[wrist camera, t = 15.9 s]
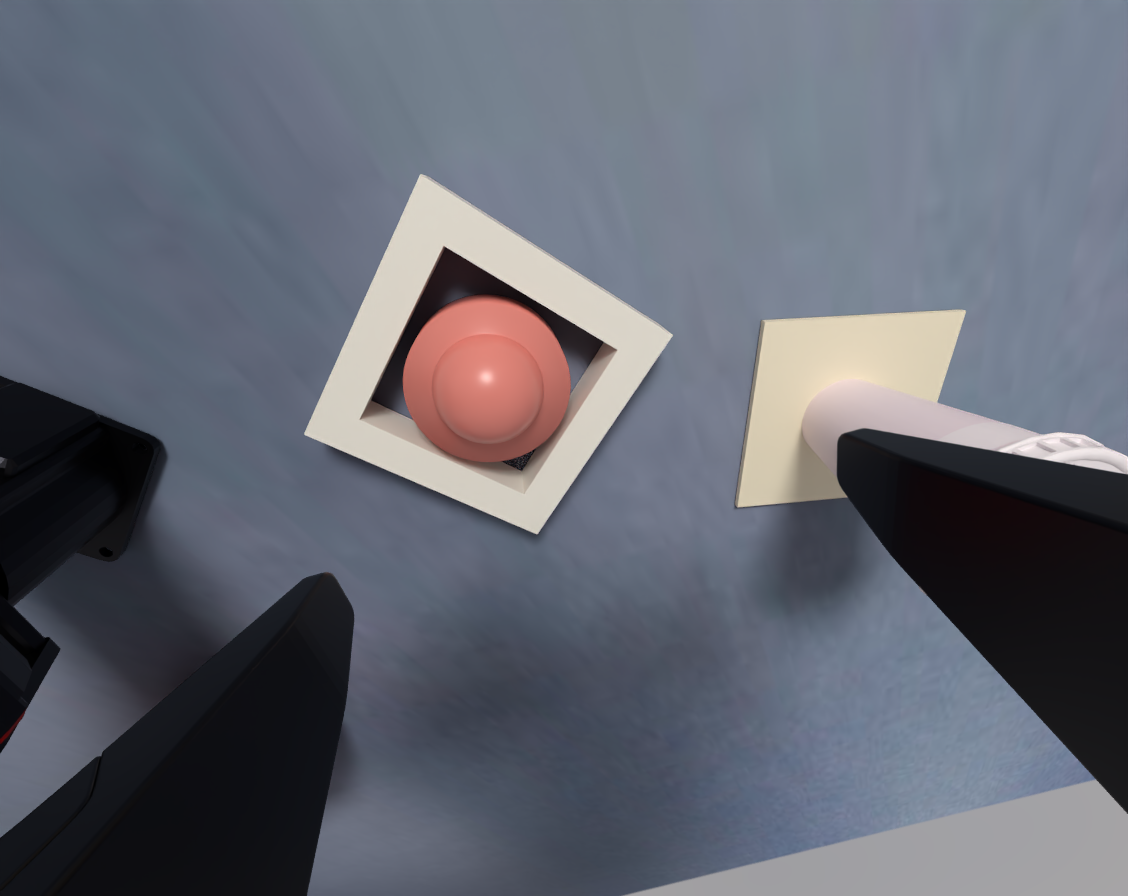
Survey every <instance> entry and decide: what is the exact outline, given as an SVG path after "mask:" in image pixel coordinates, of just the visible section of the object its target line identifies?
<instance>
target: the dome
mask: <svg viewBox="0 0 1128 896" xmlns="http://www.w3.org/2000/svg"><path fill="white" fill-rule="evenodd" d="M570 389H571V385H570V373H569V367H568V364H567V361H566V358H565V355H564V353H563V351H562V349H561V346H560V344H559V342H558V340H557V338H556V336H555V334H554V332H553V331H552V329H551V327H550V326H549V325H548V324H547V322H546V321H545V320H544V319H543V318H542V317H541V316H540V315H539V314H538V313H537V312H535V311H534V310H533V309H531V308H530V307H528V306H527V305H525V304H523V303H521V302H519V301H517V300H514V299H511V298H508V297H504V296H500V295H491V294H480V295H472V296H467V297H463V298H460V299H457V300H455V301H453V302H451V303H449V304H447V305H445V306H444V307H442V308H441V309H439V310H438V311H437V312H435V313H434V314H433V315H432V316H431V317H430V318H429V319H428V321H427V322H426V323H425V324H424V326H423V327H422V329H421V331H420V332H419V334H418V336H417V338H416V339H415V341H414V343H413V345H412V347H411V349H410V351H409V354H408V356H407V359H406V363H405V367H404V373H403V391H404V396H405V401H406V404H407V407H408V410H409V412H410V414H411V416H412V418H413V420H414V422H415V423H416V425H417V426H418V428H419V429H420V430H421V431H422V432H423V434H424V435H425V436H426V437H427V438H428V439H429V440H431V441H432V442H433V443H434V444H435V445H437V446H438V447H440V448H441V449H443V450H445V451H446V452H448V453H450V454H452V455H455V456H457V457H460V458H463V459H467V460H471V461H478V462H499V461H505V460H510V459H514V458H517V457H520V456H522V455H524V454H526V453H529V452H531V451H532V450H534V449H535V448H537V447H539V446H540V445H541V444H542V443H543V442H545V441H546V440H547V439H548V438H549V437H550V436H551V435H552V434H553V432H554V431H555V430H556V428H557V427H558V426H559V424H560V422H561V420H562V419H563V417H564V414H565V412H566V409H567V406H568V402H569V398H570Z"/></svg>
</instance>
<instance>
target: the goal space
mask: <svg viewBox="0 0 1128 896" xmlns="http://www.w3.org/2000/svg"><path fill="white" fill-rule="evenodd" d="M965 313H966V311H964V310H944V311H925V312H907V313H888V314H869V315H851V316H832V317H814V318H795V319H777V320H762V321H761V328H760V335H759V342H758V349H757V355H756V362H755V369H754V376H753V383H752V390H751V397H750V404H749V410H748V417H747V424H746V431H745V438H744V445H743V452H742V458H741V465H740V472H739V479H738V486H737V493H736V500H735V505H736V506H737V507H747V506H758V505H769V504H780V503H791V502H802V501H813V500H824V499H835V498H846V497H847V496H846V494H845V493H844V492H843V490H842V489H841V487H840V485H839V483H838V480H837V477H836V476H835V475H834V474H833V473H832V472H831V471H830V469H829V468H828V467H827V466H826V465H825V464H824V462H823V461H822V460H821V459H820V458H819V457H818V455H817V454H816V453H815V452H814V451H813V450H812V449H811V447H810V446H809V445H808V444H807V443H806V441H805V439H804V437H803V433H802V420H803V416H804V413H805V411H806V409H807V407H808V405H809V404H810V402H811V401H812V399H813V398H814V397H815V396H816V395H817V394H818V393H819V392H820V391H821V390H823V389H824V388H826V387H827V386H829V385H831V384H833V383H835V382H837V381H840V380H844V379H860V380H863V381H867V382H870V383H873V384H877V385H880V386H883V387H886V388H890V389H893V390H896V391H900V392H903V393H906V394H910V395H913V396H916V397H919V398H923V399H926V400H929V401H933V402H936V403H937V401H938V398H939V395H940V391H941V388H942V385H943V382H944V379H945V376H946V373H947V369H948V366H949V363H950V360H951V357H952V354H953V351H954V348H955V344H956V341H957V338H958V335H959V332H960V329H961V326H962V322H963V319H964V316H965Z"/></svg>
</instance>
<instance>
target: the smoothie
mask: <svg viewBox="0 0 1128 896" xmlns="http://www.w3.org/2000/svg"><path fill="white" fill-rule="evenodd" d="M861 428H868V429H874V430H880V431H885V432H891V433H897V434H902V435H908V436H914V437H919V438H925V439H931V440H936V441H942V442H948V443H953V444H959V445H965V446H970V447H976V448H982V449H987V450H993V451H999V452H1004V453H1010V454H1016V455H1021V456H1027V457H1033V458H1038V459H1044V460H1050V461H1055V462H1061V463H1067V464H1072V465H1078V466H1083V467H1089V468H1095V469H1100V470H1106V471H1112V472H1117V473H1123V474H1128V457H1127V456H1125V455H1123V454H1121V453H1119V452H1116V451H1114V450H1111V449H1109V448H1106V447H1104V446H1103V444H1101V443H1099V442H1097V441H1095V440H1093V439H1091V438H1088V437H1086V436H1084V435H1080V434H1070V433H1060V432H1056V433H1050V434H1044V435H1041V434H1038V433H1035V432H1032V431H1029V430H1026V429H1023V428H1020V427H1016V426H1013V425H1010V424H1006V423H1002V422H999V421H995V420H992V419H989V418H986V417H982V416H979V415H976V414H972V413H969V412H966V411H962V410H959V409H956V408H952V407H949V406H946V405H943V404H939V403H936V402H933V401H929V400H926V399H923V398H919V397H916V396H913V395H910V394H906V393H903V392H900V391H896V390H893V389H890V388H886V387H883V386H880V385H877V384H873V383H870V382H867V381H863V380H860V379H844V380H840V381H837V382H835V383H833V384H831V385H829V386H827V387H826V388H824V389H823V390H821V391H820V392H819V393H818V394H817V395H816V396H815V397H814V398H813V399H812V401H811V402H810V404H809V405H808V407H807V409H806V411H805V413H804V416H803V420H802V433H803V437H804V439H805V441H806V443H807V444H808V445H809V446H810V447H811V449H812V450H813V451H814V452H815V453H816V454H817V455H818V457H819V458H820V459H821V460H822V461H823V462H824V464H825V465H826V466H827V467H828V468H829V469H830V471H831V472H832V473H833V474H834V475H835V476H836V477H837V441H838V438H839V436H840V435H841V434H843V433H846V432H850V431H853V430H857V429H861ZM919 588H920V587H919ZM920 590H921V591H922V592H923V593H924V594H926V593H925V592H924V591H923V590H922V589H921V588H920Z"/></svg>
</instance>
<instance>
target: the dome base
mask: <svg viewBox="0 0 1128 896" xmlns="http://www.w3.org/2000/svg"><path fill="white" fill-rule="evenodd" d="M445 247H447V248H448V249H450V250H452V251H453V252H455V253H457V254H458V255H460V256H462V257H463V258H465V259H467V260H468V261H470V262H472V263H473V264H475V265H477V266H478V267H480V268H482V269H483V270H485V271H487V272H488V273H490V274H492V275H493V276H495V277H497V278H498V279H500V280H502V281H503V282H505V283H507V284H508V285H510V286H512V287H513V288H515V289H517V290H518V291H520V292H522V293H523V294H525V295H527V296H528V297H530V298H532V299H533V300H535V301H537V302H538V303H540V304H542V305H543V306H545V307H547V308H548V309H550V310H552V311H553V312H555V313H557V314H558V315H560V316H562V317H563V318H565V319H567V320H568V321H570V322H572V323H573V324H575V325H577V326H578V327H580V328H582V329H583V330H585V331H587V332H588V333H590V334H592V335H593V336H595V337H597V338H598V339H600V340H602V341H603V342H604V343H603V344H602V346H601V347H600V349H599V350H598V352H597V354H596V355H595V357H594V358H593V360H592V361H591V363H590V365H589V366H588V368H587V369H586V371H585V373H584V374H583V376H582V377H581V379H580V380H579V382H578V384H577V385H576V387H575V388H574V390H573V391H572V393H571V395H570V398H569V402H568V406H567V409H566V412H565V414H564V417H563V419H562V420H561V422H560V424H559V426H558V427H557V428H556V430H555V431H554V432H553V434H552V435H551V436H550V437H549V438H548V439H547V440H546V441H545V442H543V443H542V444H541V445H540V446H539V447H537V448H536V450H535V451H534V453H533V454H532V456H531V458H530V459H529V461H528V462H527V464H526V465H525V467H524V469H523V470H522V471H520V470H518V469H516V468H514V467H512V466H510V465H508V464H505V463H503V462H501V461H499V462H478V461H471V460H467V459H463V458H460V457H457V456H455V455H452V454H450V453H448V452H446V451H445V450H443V449H441V448H440V447H438V446H437V445H435V444H434V443H433V442H432V441H431V440H429V439H428V438H427V437H426V436H425V435H424V434H423V432H422V431H421V430H420V429H419V428H418V426H417V425H416V423H415V422H414V420H412V419H410V418H407V417H405V416H403V415H401V414H399V413H397V412H395V411H393V410H390V409H388V408H386V407H384V406H382V405H380V404H378V403H375V402H373V401H371V399H372V397H373V395H374V393H375V391H376V389H377V387H378V385H379V383H380V381H381V379H382V377H383V374H384V372H385V370H386V368H387V366H388V364H389V362H390V360H391V358H392V356H393V354H394V352H395V350H396V348H397V346H398V344H399V342H400V340H401V337H402V335H403V333H404V331H405V329H406V327H407V325H408V323H409V321H410V319H411V317H412V315H413V313H414V311H415V309H416V307H417V305H418V303H419V300H420V298H421V296H422V294H423V292H424V290H425V288H426V286H427V284H428V282H429V280H430V278H431V276H432V274H433V272H434V270H435V268H436V266H437V264H438V261H439V259H440V257H441V255H442V253H443V251H444V249H445ZM672 336H673V335H672V334H671V333H670V332H668V331H667V330H666V329H664V328H663V327H662V326H661V325H659V324H658V323H657V322H655V321H653V320H652V319H650V318H649V317H647V316H646V315H644V314H642V313H641V312H639V311H638V310H636V309H635V308H633V307H632V306H630V305H628V304H627V303H625V302H624V301H622V300H621V299H619V298H617V297H616V296H614V295H613V294H611V293H610V292H608V291H606V290H605V289H603V288H602V287H600V286H599V285H597V284H596V283H594V282H592V281H591V280H589V279H588V278H586V277H585V276H583V275H581V274H580V273H578V272H577V271H575V270H574V269H572V268H571V267H569V266H567V265H566V264H564V263H563V262H561V261H560V260H558V259H556V258H555V257H553V256H552V255H550V254H549V253H547V252H546V251H544V250H542V249H541V248H539V247H538V246H536V245H535V244H533V243H531V242H530V241H528V240H527V239H525V238H524V237H522V236H521V235H519V234H517V233H516V232H514V231H513V230H511V229H510V228H508V227H506V226H505V225H503V224H502V223H500V222H499V221H497V220H496V219H494V218H492V217H491V216H489V215H488V214H486V213H485V212H483V211H481V210H480V209H478V208H477V207H475V206H474V205H472V204H470V203H469V202H467V201H466V200H464V199H463V198H461V197H460V196H458V195H456V194H455V193H453V192H452V191H450V190H449V189H447V188H445V187H444V186H442V185H441V184H439V183H438V182H436V181H435V180H433V179H431V178H430V177H428V176H425V175H422V174H420V176H419V178H418V181H417V183H416V185H415V187H414V190H413V192H412V194H411V196H410V199H409V201H408V203H407V205H406V207H405V210H404V212H403V214H402V216H401V219H400V221H399V223H398V225H397V228H396V230H395V232H394V234H393V237H392V239H391V241H390V243H389V245H388V248H387V250H386V252H385V254H384V257H383V259H382V261H381V263H380V266H379V268H378V270H377V272H376V275H375V277H374V279H373V281H372V283H371V286H370V288H369V290H368V292H367V295H366V297H365V299H364V301H363V304H362V306H361V308H360V310H359V312H358V315H357V317H356V319H355V321H354V324H353V326H352V328H351V330H350V333H349V335H348V337H347V339H346V342H345V344H344V346H343V348H342V350H341V353H340V355H339V357H338V359H337V362H336V364H335V366H334V368H333V371H332V373H331V375H330V377H329V380H328V382H327V384H326V386H325V388H324V391H323V393H322V395H321V397H320V400H319V402H318V404H317V406H316V409H315V411H314V413H313V415H312V417H311V420H310V422H309V424H308V426H307V429H306V431H305V433H304V435H306V436H309V437H311V438H313V439H316V440H318V441H320V442H323V443H325V444H327V445H330V446H332V447H334V448H337V449H339V450H341V451H344V452H346V453H348V454H351V455H353V456H355V457H358V458H360V459H362V460H365V461H367V462H369V463H372V464H374V465H376V466H379V467H381V468H383V469H386V470H388V471H390V472H393V473H395V474H397V475H400V476H402V477H404V478H407V479H409V480H411V481H414V482H416V483H418V484H421V485H423V486H425V487H428V488H430V489H432V490H435V491H437V492H439V493H442V494H444V495H446V496H449V497H451V498H453V499H456V500H458V501H460V502H463V503H465V504H467V505H470V506H472V507H474V508H477V509H479V510H481V511H484V512H486V513H488V514H491V515H493V516H495V517H498V518H500V519H502V520H505V521H507V522H509V523H512V524H514V525H516V526H519V527H521V528H523V529H526V530H528V531H530V532H533V533H535V534H538V533H539V531H540V530H541V528H542V527H543V525H544V524H545V522H546V521H547V519H548V518H549V516H550V515H551V514H552V512H553V511H554V509H555V508H556V506H557V505H558V503H559V502H560V500H561V499H562V497H563V496H564V494H565V493H566V492H567V490H568V489H569V487H570V486H571V484H572V483H573V481H574V480H575V478H576V477H577V475H578V474H579V472H580V471H581V470H582V468H583V467H584V465H585V464H586V462H587V461H588V459H589V458H590V456H591V455H592V453H593V452H594V450H595V449H596V447H597V446H598V445H599V443H600V442H601V440H602V439H603V437H604V436H605V434H606V433H607V431H608V430H609V428H610V427H611V425H612V424H613V423H614V421H615V420H616V418H617V417H618V415H619V414H620V412H621V411H622V409H623V408H624V406H625V405H626V403H627V402H628V401H629V399H630V398H631V396H632V395H633V393H634V392H635V390H636V389H637V387H638V386H639V384H640V383H641V381H642V380H643V379H644V377H645V376H646V374H647V373H648V371H649V370H650V368H651V367H652V365H653V364H654V362H655V361H656V359H657V358H658V357H659V355H660V354H661V352H662V351H663V349H664V348H665V346H666V345H667V343H668V342H669V340H670V339H671V337H672Z"/></svg>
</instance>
